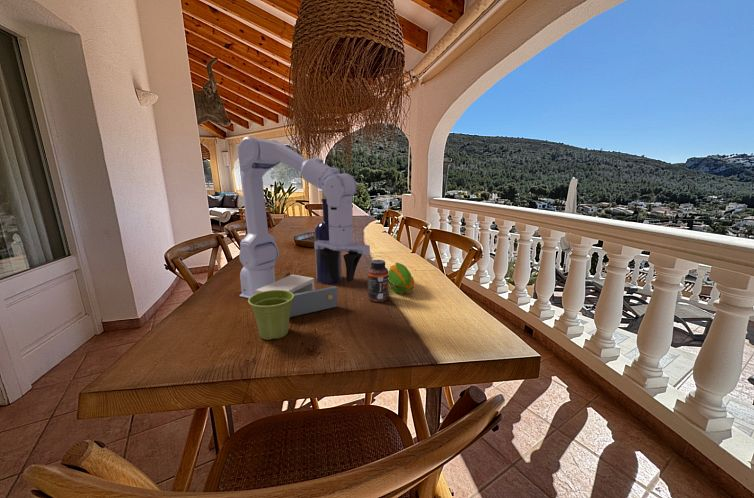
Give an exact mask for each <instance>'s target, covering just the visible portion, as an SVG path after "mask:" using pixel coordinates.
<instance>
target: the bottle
mask: <svg viewBox="0 0 754 498" xmlns="http://www.w3.org/2000/svg"><path fill="white" fill-rule="evenodd" d="M321 204H322V205H321V206H322V218H323V219H322V220H323V221H320V222H318V223H317V224H316V226H315V227H314V241H318V240H323V241H329V219H328V204H327V199H326V197H325V195H324V194H323V191H322V190H321ZM314 250H315V267H316V269H315V271H316V283H318V284H322V285H334V284H337V283H340V282H342V281H343V277H342V276H343V274H342V272H343V271H342V251H339V255H338V275H337V278H335V279H331V277H330V274H329V271H328V268H327V266H326V263H325V262H324V260H323V258H322V257H321V254H320V253H321V252H323V249H314Z"/></svg>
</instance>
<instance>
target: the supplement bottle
mask: <svg viewBox="0 0 754 498" xmlns="http://www.w3.org/2000/svg"><path fill="white" fill-rule="evenodd" d="M370 266H371V267H369V268H368V269H367V298H368V300H369V301H371V302H374V303H383V302H386V301H387V300H388V297H389V283H388V279H389V278H388V275H389V269H388V268H387V267H386V261H385V259H384V260H383V259H373V260H371V261H370Z"/></svg>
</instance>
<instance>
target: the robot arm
mask: <svg viewBox="0 0 754 498" xmlns="http://www.w3.org/2000/svg"><path fill="white" fill-rule="evenodd" d="M236 149H237V155H238V163H239V164H238V165H239V174H240V175H239V176H240V182H241V190H242V197H243V205H244V206H243V207H244V213H245V223H246V229H247V234H246V235H245V236H244V238H243V239H242V240H241V241H240V243H239V246H240V248H239V249H240V250H239V255H238V256H239V262H240V263H241V265H242V266H243V267H242V268H241V270H240V273H239V279H240V287H241V288H240V290H241V293H240V294H239V297H241V298H245V299H249V298H250V297H251V296H252V295H254V294H256V290H257V289H259V288H261V287H264V286H266V285H268V284H271V283H273V282H275V281H276V277H275V276H276V275H275V272H276V271H275V265H276V264H277V262H276V261H277V260H279V257H280V250H279V246H277V242H276V238H275V237H274V235H272V234H270V233H269V227H268V219H267V209H266V199H265V191H264V182H263V177H264V176H265V175H266V173H267V172H268V171H270V170H271V169H274V168H275V167H277V166H278V165H279V164H280V163H283V164H285V165H286V166H288V167H290V168H292V169H294V170H295V171H297V172H300V175H301V178H302V179H303V180H304V181H306V182H307V183H309V184H310V185H312V186H313V187H316V188H317V189H319V190H321V192H322V191H323V194H324V195H325V197H326V199H327V204H328V219H329V241H323V240H318V241H315V240H314V241H313V243H314V244H313V245H314V247H313V249H314V250H315V249H323V252H321V253H320V254H321V257H322V258H323V260H324V262H325V263H326V266H327V268H328V271H329V274H330V277H331V279H335V278H337V275H338V255H339V251H341V252H343V253H344V252H345V253H346V254H344V255H343V256H342V257H343V259H344V260H343V261H344V264H345V272H346V273H345V275H346V282H347V283H351V282H353V281H354V278H355V273H356V269H357V266H358V265H359V262H360V260H361V258H362V256H367V255H369V254H371V245H368V244H362V243H358V242H354V229H353V227H354V224H353V222H354V221H353V220H354V219H353V218H354V217H353V213H354V212H353V197H354V195H355V194H356V192H357V187H358V185H357V181H356V179H355V178H354V177H353V176H352V175H351V173H348V172H343V173H340V171H339V168H337V167H331V166H329V165H328V164H326V163H324V159H322V158H320V157H315V158H314V157H313V158H309V159H307V158H305V157H303V156H302V155H300V154H299V153H298V152H295V151H294V150H293V149H292V148H290V147H288V146H287V145H285V144H284V143H283V142H280V141H277V140H270V139H264V138H257V137H256V138H255V137H252V136H245V137H243V138H242V140H241V141H240V142H239V144H238V145H237V148H236Z"/></svg>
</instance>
